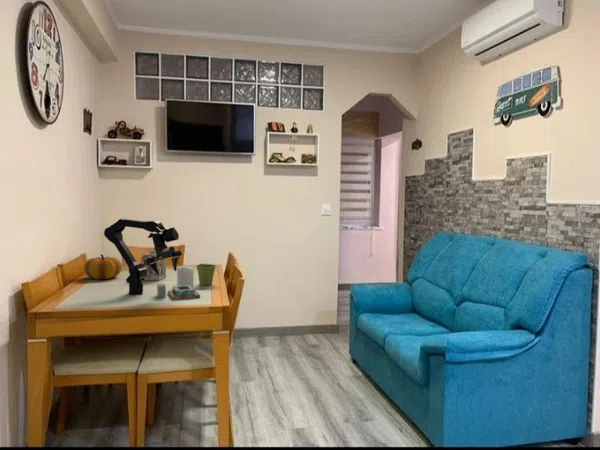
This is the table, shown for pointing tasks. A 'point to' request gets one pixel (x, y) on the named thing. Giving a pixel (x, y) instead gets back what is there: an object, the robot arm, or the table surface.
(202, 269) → the plant pot
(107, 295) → the table surface
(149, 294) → the table surface
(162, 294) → the silver metal block
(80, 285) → the table surface
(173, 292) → the well board
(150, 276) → the decorative jar
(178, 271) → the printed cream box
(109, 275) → the decorative pumpkin
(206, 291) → the table surface
